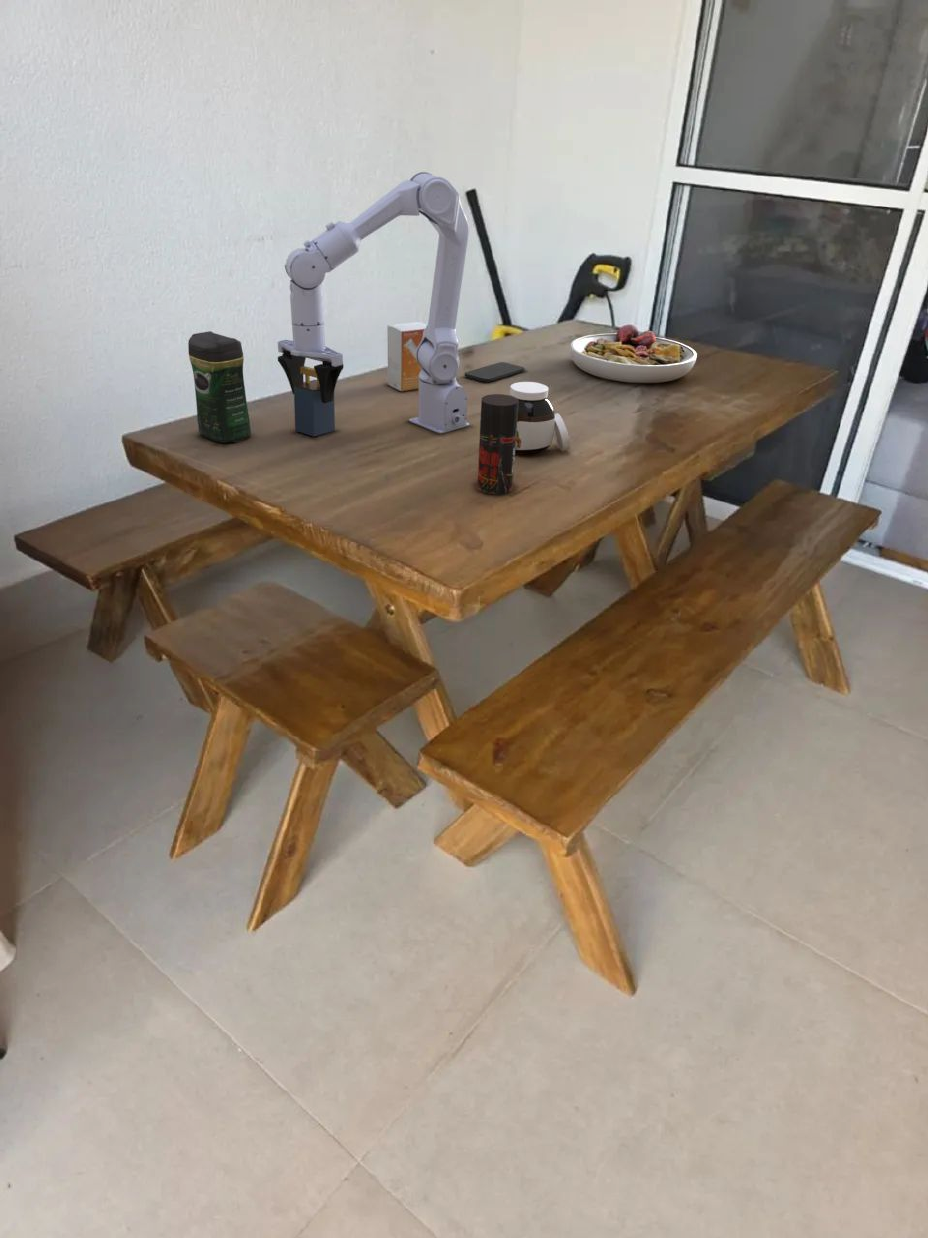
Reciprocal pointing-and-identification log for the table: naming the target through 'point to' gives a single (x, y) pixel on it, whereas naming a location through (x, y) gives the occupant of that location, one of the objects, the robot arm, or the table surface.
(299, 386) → the box
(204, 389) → the coffee jar
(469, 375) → the phone
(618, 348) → the bowl
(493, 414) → the deodorant
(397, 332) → the small box
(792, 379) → the table surface
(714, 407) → the table surface
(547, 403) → the spread jar
